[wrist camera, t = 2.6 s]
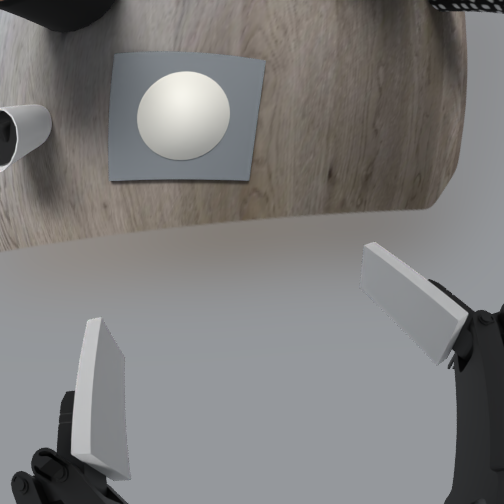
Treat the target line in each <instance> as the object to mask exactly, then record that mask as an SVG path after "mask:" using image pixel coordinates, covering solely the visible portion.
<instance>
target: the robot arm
mask: <svg viewBox="0 0 504 504" xmlns="http://www.w3.org/2000/svg"><path fill="white" fill-rule="evenodd" d="M359 288H360V289H361V290H362V291H363V292H364V293H365V294H366V295H367V296H368V297H369V298H370V299H372V300H373V301H374V302H375V303H376V304H377V305H378V306H379V307H380V308H381V309H382V310H383V311H384V312H385V313H386V314H387V315H388V316H389V317H390V318H391V319H392V320H393V321H394V322H395V323H396V324H397V325H398V326H399V327H400V328H401V329H402V330H403V331H404V332H405V333H406V334H407V335H408V336H409V337H410V338H411V339H412V340H413V341H414V342H415V343H416V344H417V345H418V346H419V348H420V349H422V351H423V352H424V353H425V354H426V355H427V356H428V357H429V358H430V359H431V360H432V361H433V362H434V363H435V364H436V365H439V364H440V363H441V362H443V361H444V360H445V359H447V357H448V355H449V354H450V352H451V350H452V349H453V350H454V351H455V354H454V356H453V357H452V359H451V361H450V363H449V365H448V369H450V367H451V366H452V364H453V362H454V366H453V369H455V381H456V400H457V440H456V458H455V469H454V478H453V486H452V490H451V492H450V494H449V496H448V497H447V498H446V500H445V503H444V504H504V304H503V305H502V307H501V310H500V312H497V313H494V314H491V313H489V312H487V311H484V310H478V311H476V312H474V311H473V310H472V309H471V308H469V307H468V306H467V305H466V304H464V303H463V302H462V301H461V300H459V299H458V298H457V297H456V296H455V295H452V293H451V292H449V291H448V290H446V288H444V287H443V286H442V285H440V284H439V283H437V282H435V281H433V280H430V279H429V280H426V279H425V278H424V277H423V276H421V275H420V274H419V273H417V272H416V271H415V270H413V269H412V268H411V267H409V266H408V265H407V264H405V263H404V262H403V261H401V260H400V259H398V258H397V257H396V256H394V255H393V254H391V253H390V252H389V251H387V250H386V249H384V248H383V247H382V246H380V245H379V244H377V243H376V242H372V243H369V244H366V245H364V248H363V259H362V269H361V277H360V285H359ZM124 366H125V357H124V355H123V353H122V352H121V350H120V349H119V347H118V345H117V343H116V342H115V340H114V338H113V337H112V335H111V333H110V331H109V329H108V328H107V326H106V324H105V322H104V320H103V318H102V317H99V318H94V319H90V320H87V325H86V330H85V334H84V340H83V345H82V350H81V356H80V361H79V368H78V374H77V382H76V389H75V391H69V392H66V394H65V396H64V398H63V400H62V402H61V409H60V417H59V423H60V424H59V427H58V441H57V453H56V452H55V451H54V450H52V449H49V448H41V449H39V450H38V451H36V453H35V454H34V455H33V458H32V461H31V466H32V471H33V473H34V476H31V475H30V474H28V473H26V472H23V471H19V472H17V473H16V474H15V475H14V476H13V478H12V482H11V486H12V492H13V494H14V497H15V500H16V503H17V504H128V503H127V502H126V501H125V500H124V499H123V498H122V497H121V496H120V495H118V494H117V493H116V492H115V491H114V490H113V489H112V488H111V487H110V486H109V485H108V484H107V482H106V477H108V478H110V479H112V480H113V481H119V480H131V475H130V467H129V458H128V447H127V435H126V419H125V388H124V369H125V368H124Z"/></svg>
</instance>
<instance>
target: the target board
mask: <svg viewBox="0 0 504 504" xmlns="http://www.w3.org/2000/svg"><path fill="white" fill-rule="evenodd" d="M265 63H266V61H265V60H259V59H253V58H246V57H238V56H230V55H221V54H210V53H196V52H168V51H155V52H127V53H115V54H114V61H113V70H112V80H111V91H110V106H109V131H108V165H109V181H121V180H155V179H208V180H242V181H249V177H250V170H251V162H252V155H253V148H254V140H255V133H256V126H257V119H258V111H259V104H260V97H261V90H262V83H263V77H264V70H265Z"/></svg>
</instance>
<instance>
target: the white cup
mask: <svg viewBox="0 0 504 504" xmlns="http://www.w3.org/2000/svg"><path fill="white" fill-rule="evenodd" d="M51 127H52V120H51V115H50V113H49V111H48V110H47V109H46V108H45V107H44V106H42V105H36V104H35V105H20V106H9V107H0V172H1V171H4V170H5V169H6V168H8V167H9V166H10V165H12V164H13V163H15V162H16V161H17V160H19V159H20V158H22V157H23V156H25V155H26V154H28V153H29V152H31V151H32V150H34V149H36V148H37V147H39V146H40V145H41V144H43V143H44V142H45V141H46V139H47V138H48V136H49V135H50V131H51Z"/></svg>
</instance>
